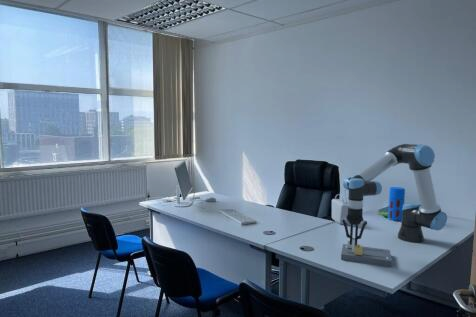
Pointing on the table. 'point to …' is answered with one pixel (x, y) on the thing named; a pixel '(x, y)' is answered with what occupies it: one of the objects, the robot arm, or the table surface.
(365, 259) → the board
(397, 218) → the thermos
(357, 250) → the fader amber
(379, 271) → the table surface
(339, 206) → the white jerry can
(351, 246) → the fader grey
